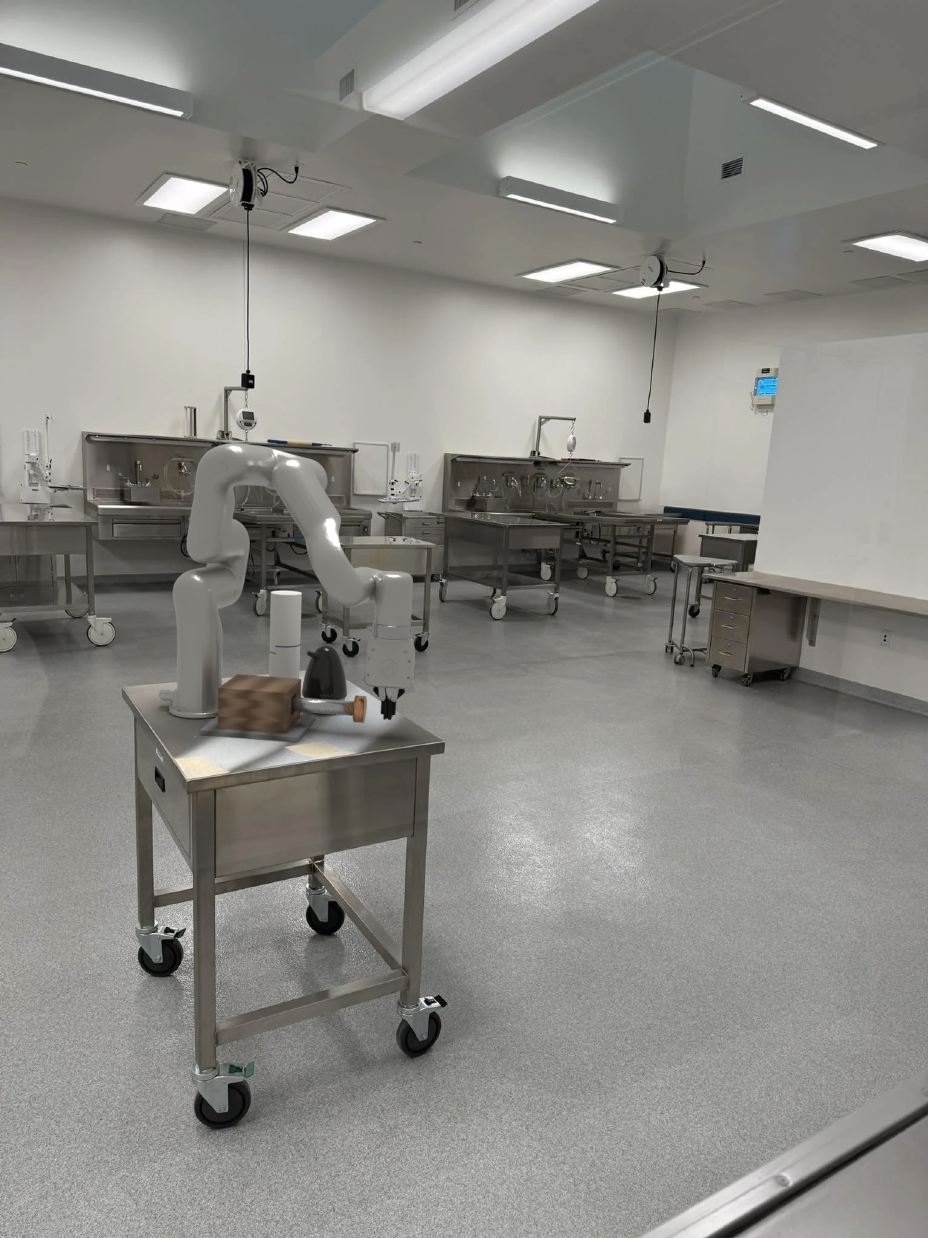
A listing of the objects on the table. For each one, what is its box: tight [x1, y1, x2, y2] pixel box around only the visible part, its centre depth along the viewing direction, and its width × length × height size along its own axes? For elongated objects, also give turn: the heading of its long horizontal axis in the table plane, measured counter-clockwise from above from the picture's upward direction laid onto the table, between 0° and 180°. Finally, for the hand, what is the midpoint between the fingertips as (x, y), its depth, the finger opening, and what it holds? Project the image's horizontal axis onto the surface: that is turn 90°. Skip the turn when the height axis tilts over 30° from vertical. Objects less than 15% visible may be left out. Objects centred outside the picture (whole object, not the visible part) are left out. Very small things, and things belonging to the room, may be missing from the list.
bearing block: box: [199, 673, 317, 743], centre depth 174 cm, size 20×16×10 cm
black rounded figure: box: [301, 644, 348, 701], centre depth 189 cm, size 10×10×15 cm
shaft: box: [291, 694, 368, 724], centre depth 174 cm, size 20×6×6 cm, turn 87°
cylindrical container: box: [268, 590, 303, 679], centre depth 199 cm, size 7×7×25 cm
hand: (387, 717), depth 173 cm, fingers closed
